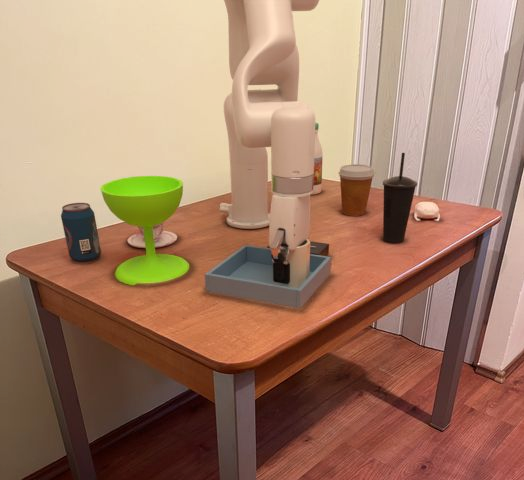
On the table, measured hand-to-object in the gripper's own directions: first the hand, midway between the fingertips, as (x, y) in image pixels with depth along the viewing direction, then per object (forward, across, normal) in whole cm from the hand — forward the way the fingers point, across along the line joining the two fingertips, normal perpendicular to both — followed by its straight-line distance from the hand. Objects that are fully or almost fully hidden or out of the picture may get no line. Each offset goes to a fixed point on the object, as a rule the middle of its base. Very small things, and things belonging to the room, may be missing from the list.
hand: (291, 273), depth 105 cm
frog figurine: (+3, -56, +17) cm, 59 cm away
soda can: (+3, +3, -48) cm, 49 cm away
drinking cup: (+3, -35, +12) cm, 37 cm away
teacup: (+3, -13, -42) cm, 44 cm away
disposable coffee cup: (+3, -53, -2) cm, 53 cm away
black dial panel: (+3, -15, -4) cm, 16 cm away
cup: (+3, 0, 0) cm, 3 cm away
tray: (+3, 0, -4) cm, 6 cm away
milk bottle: (+3, -69, -22) cm, 72 cm away
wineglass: (+3, +3, -30) cm, 31 cm away
